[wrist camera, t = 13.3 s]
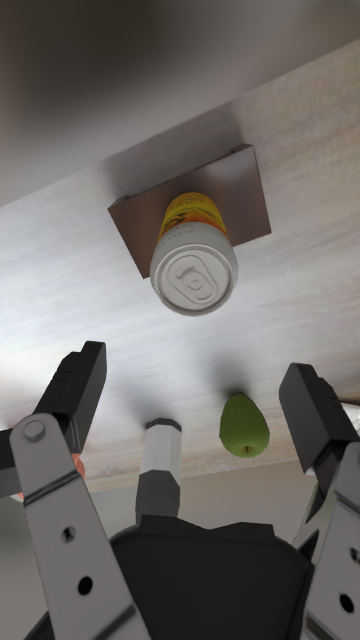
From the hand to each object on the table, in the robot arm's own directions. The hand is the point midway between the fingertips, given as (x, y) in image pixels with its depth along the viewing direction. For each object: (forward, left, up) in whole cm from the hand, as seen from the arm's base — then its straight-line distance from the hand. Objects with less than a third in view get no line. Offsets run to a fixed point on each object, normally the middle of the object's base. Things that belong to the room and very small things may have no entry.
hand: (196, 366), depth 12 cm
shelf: (0, 0, -28) cm, 28 cm away
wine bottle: (+46, 0, -28) cm, 54 cm away
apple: (+33, +14, -28) cm, 46 cm away
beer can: (0, 0, -23) cm, 23 cm away
